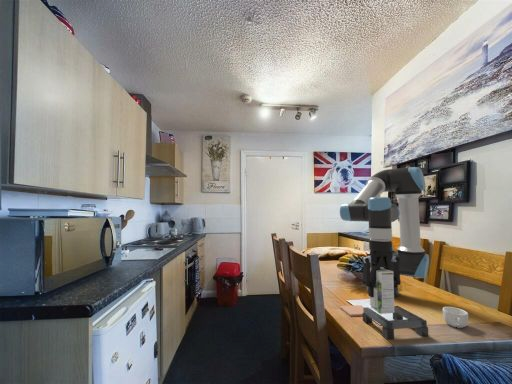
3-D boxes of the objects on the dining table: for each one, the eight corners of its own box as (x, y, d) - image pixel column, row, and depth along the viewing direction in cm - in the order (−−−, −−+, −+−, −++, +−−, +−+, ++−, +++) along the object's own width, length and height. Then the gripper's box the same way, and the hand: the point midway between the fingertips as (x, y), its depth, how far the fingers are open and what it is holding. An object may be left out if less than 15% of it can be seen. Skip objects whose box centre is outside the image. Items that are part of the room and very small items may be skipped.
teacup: (441, 319, 101) (440, 305, 101) (465, 323, 98) (464, 308, 98) (446, 329, 92) (446, 314, 92) (473, 334, 89) (473, 318, 89)
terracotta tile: (360, 306, 113) (360, 305, 113) (373, 315, 104) (373, 313, 104) (339, 308, 112) (339, 306, 112) (350, 316, 103) (350, 314, 103)
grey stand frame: (398, 318, 101) (398, 305, 102) (428, 336, 87) (427, 321, 88) (362, 320, 99) (362, 307, 99) (387, 339, 85) (386, 323, 85)
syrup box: (370, 307, 92) (368, 267, 93) (385, 306, 93) (383, 266, 94) (379, 314, 87) (377, 271, 88) (395, 313, 87) (393, 270, 88)
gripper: (396, 238, 97) (398, 300, 95) (350, 239, 94) (351, 303, 92) (411, 240, 89) (414, 308, 88) (362, 241, 86) (363, 311, 85)
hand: (382, 305), depth 90 cm, fingers closed on syrup box, 6 cm apart
